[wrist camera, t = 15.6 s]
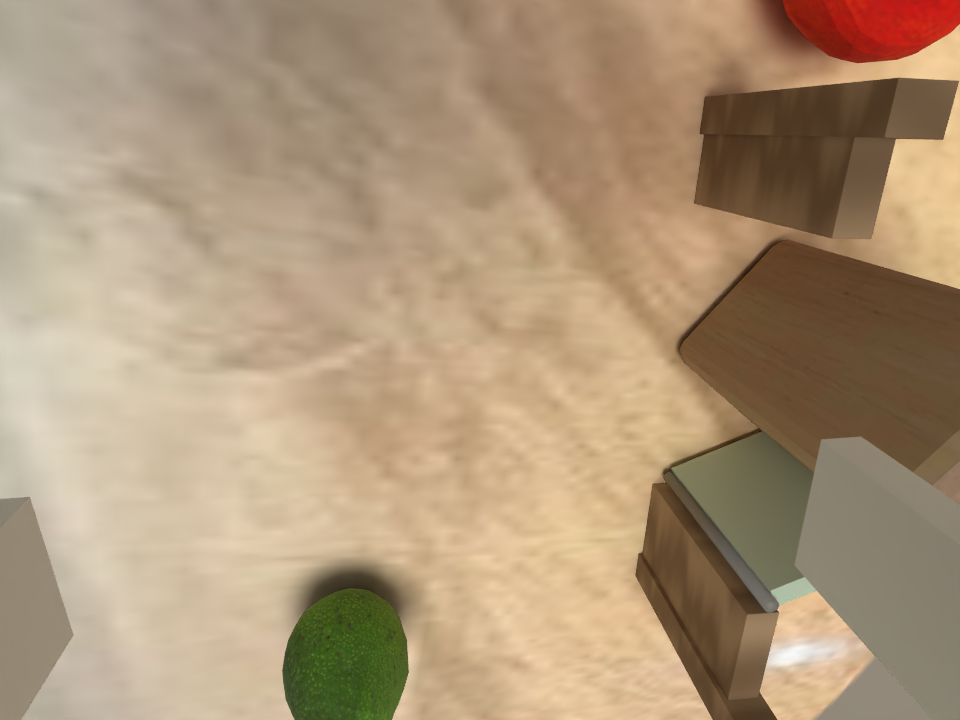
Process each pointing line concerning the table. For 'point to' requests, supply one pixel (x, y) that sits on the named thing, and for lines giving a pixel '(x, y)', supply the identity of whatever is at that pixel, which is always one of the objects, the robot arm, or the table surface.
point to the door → (751, 512)
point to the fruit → (346, 659)
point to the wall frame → (803, 206)
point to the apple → (873, 26)
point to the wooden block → (839, 358)
